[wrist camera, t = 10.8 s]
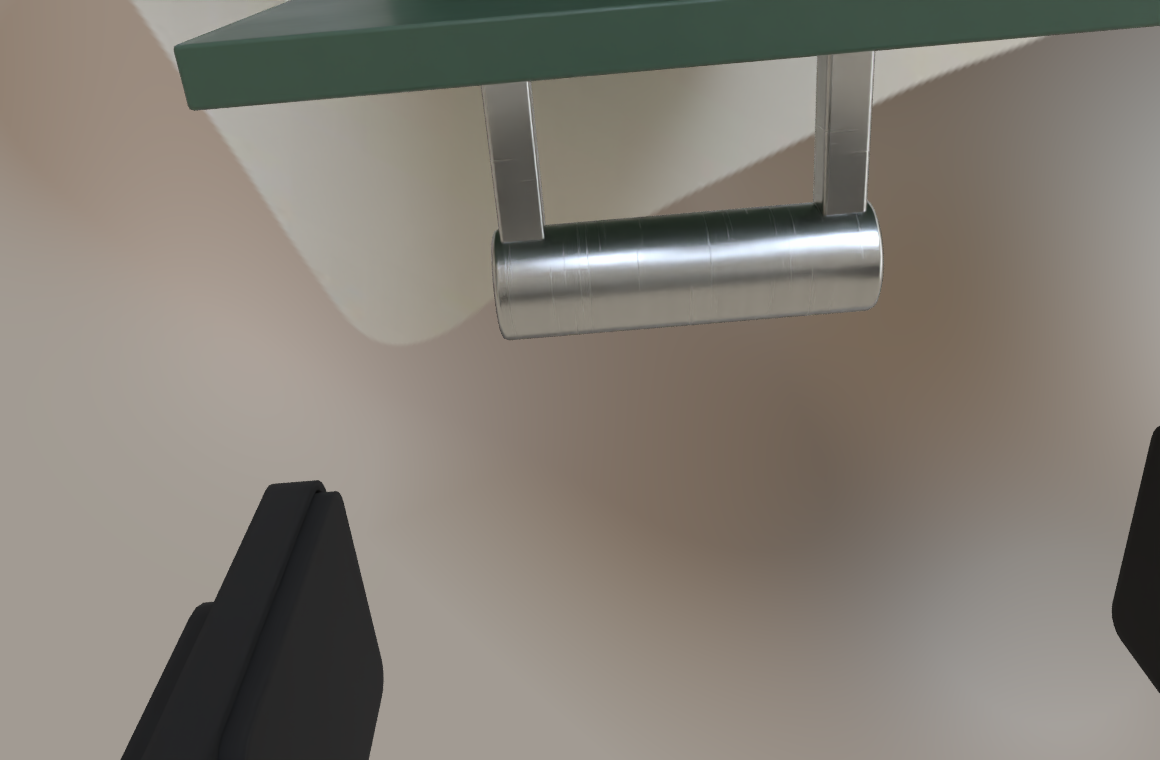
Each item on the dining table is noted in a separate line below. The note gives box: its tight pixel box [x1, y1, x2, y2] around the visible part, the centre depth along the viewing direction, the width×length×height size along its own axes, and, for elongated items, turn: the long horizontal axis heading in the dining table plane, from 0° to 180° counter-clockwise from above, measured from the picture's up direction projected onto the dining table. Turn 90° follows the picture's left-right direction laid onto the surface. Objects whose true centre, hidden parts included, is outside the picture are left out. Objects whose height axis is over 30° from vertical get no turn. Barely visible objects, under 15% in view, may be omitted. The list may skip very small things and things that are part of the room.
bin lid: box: [174, 0, 1160, 340], centre depth 20 cm, size 16×13×5 cm
